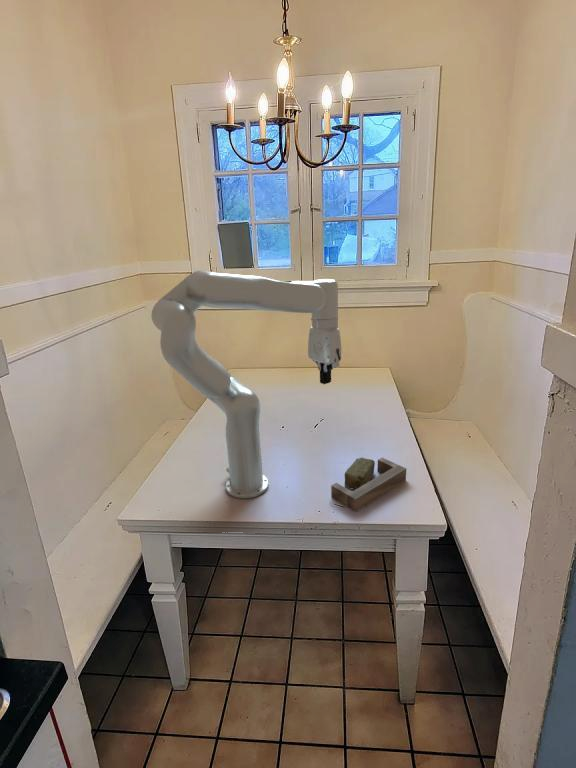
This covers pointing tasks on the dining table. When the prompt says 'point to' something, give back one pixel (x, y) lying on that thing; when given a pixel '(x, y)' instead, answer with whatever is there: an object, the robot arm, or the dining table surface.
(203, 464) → the dining table surface
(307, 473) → the dining table surface
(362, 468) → the stone block
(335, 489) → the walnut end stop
